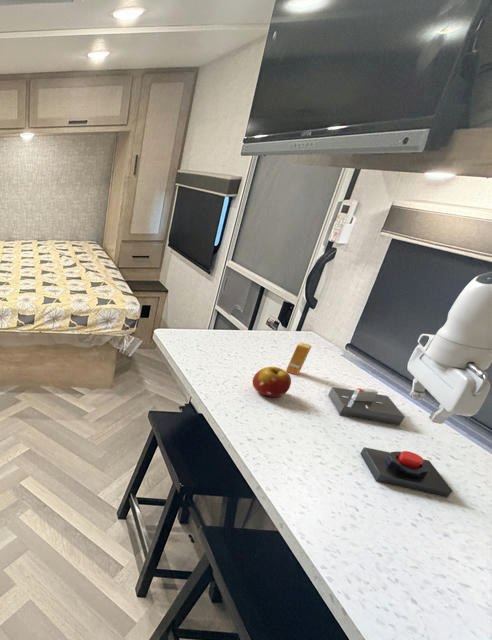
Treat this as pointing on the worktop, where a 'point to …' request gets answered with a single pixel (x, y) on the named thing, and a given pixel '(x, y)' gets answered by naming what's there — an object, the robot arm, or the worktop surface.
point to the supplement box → (298, 358)
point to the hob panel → (366, 407)
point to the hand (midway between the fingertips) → (424, 409)
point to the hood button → (410, 459)
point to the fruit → (272, 381)
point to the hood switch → (404, 473)
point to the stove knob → (364, 395)
